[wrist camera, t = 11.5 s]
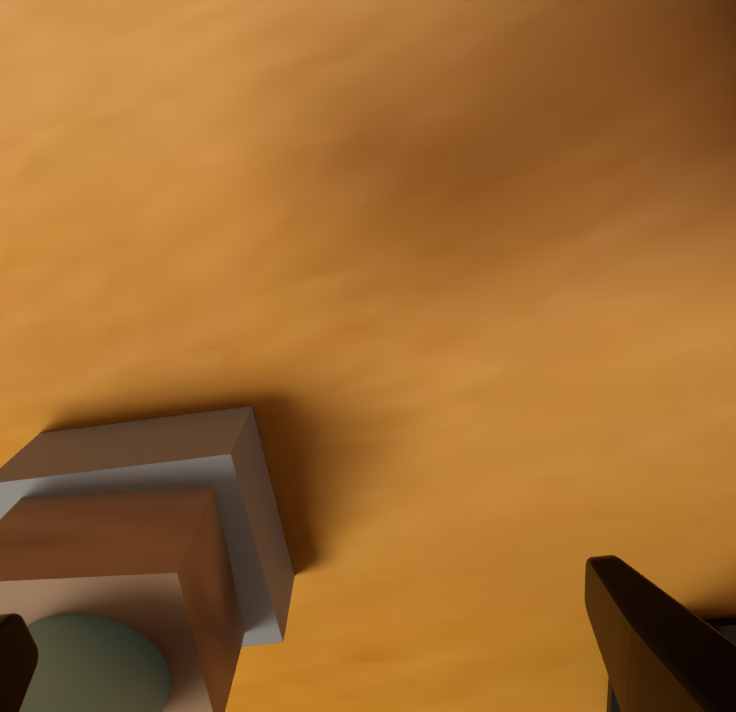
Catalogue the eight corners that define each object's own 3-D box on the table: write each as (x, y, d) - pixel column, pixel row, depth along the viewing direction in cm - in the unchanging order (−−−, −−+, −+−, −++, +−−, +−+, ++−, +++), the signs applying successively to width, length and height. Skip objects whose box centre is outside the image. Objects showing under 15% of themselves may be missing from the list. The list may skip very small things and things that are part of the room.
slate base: (295, 569, 25) (283, 642, 22) (113, 589, 26) (70, 664, 22) (253, 401, 22) (230, 453, 18) (45, 427, 23) (-18, 484, 19)
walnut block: (244, 633, 22) (218, 735, 18) (74, 640, 22) (13, 743, 18) (215, 488, 19) (177, 572, 15) (20, 498, 19) (-63, 584, 15)
